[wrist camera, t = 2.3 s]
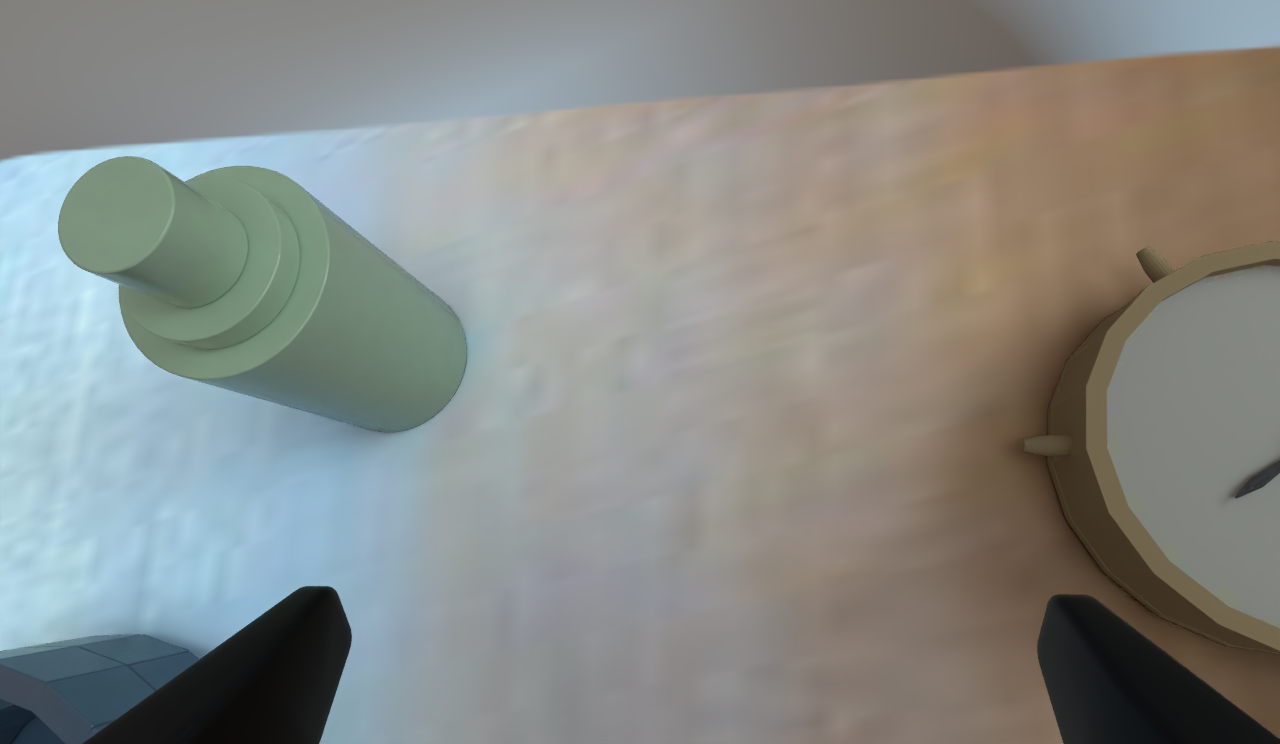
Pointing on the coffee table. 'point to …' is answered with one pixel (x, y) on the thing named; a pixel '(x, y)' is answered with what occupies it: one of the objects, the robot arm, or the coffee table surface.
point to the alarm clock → (1181, 444)
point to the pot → (80, 685)
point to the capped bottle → (264, 292)
